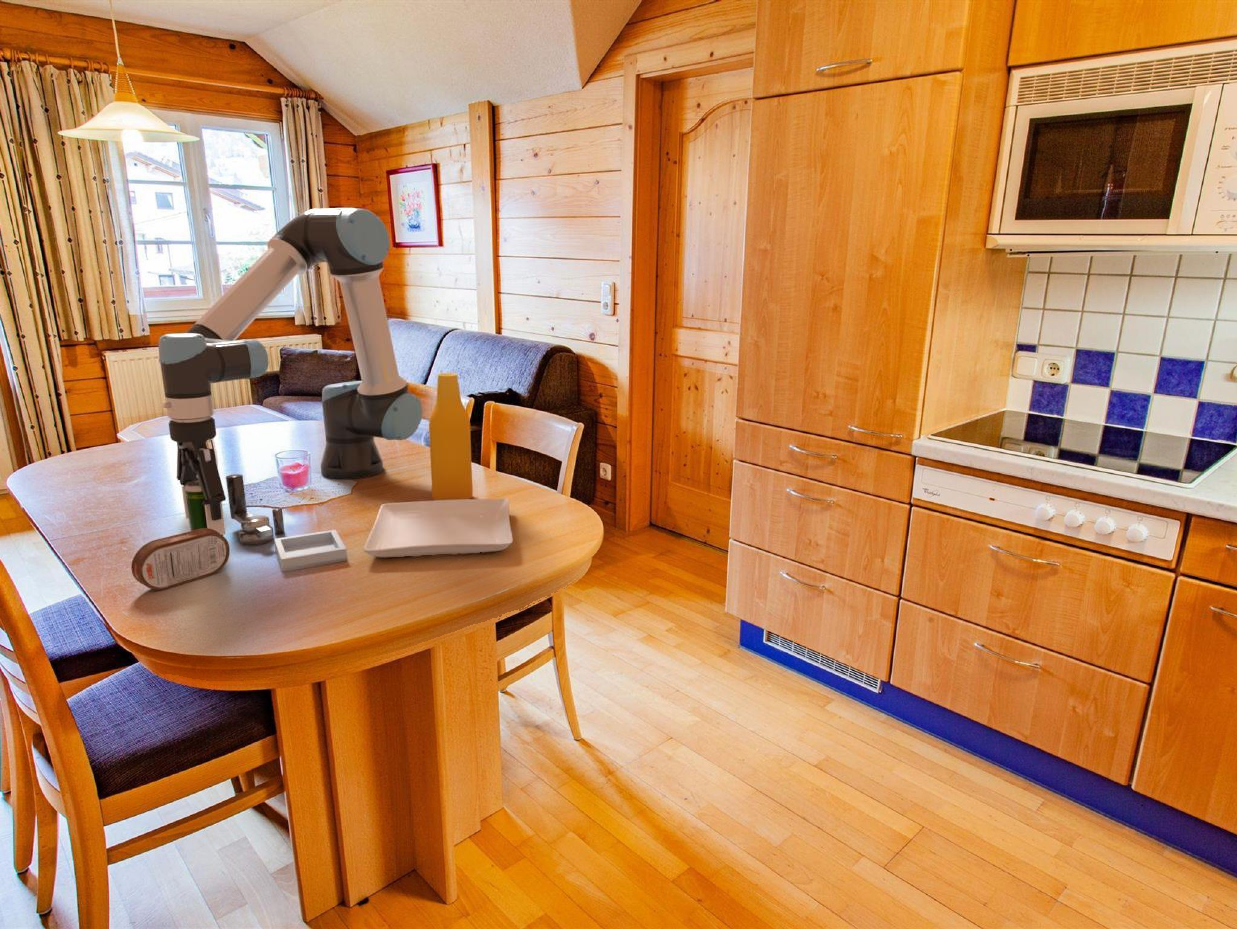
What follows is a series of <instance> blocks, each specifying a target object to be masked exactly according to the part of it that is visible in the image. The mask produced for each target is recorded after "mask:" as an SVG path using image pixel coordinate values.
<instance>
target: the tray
mask: <svg viewBox="0 0 1237 929" xmlns="http://www.w3.org/2000/svg"><path fill="white" fill-rule="evenodd" d="M273 540H274V542H273V543H274V548H275V549H274V550H275V553H276V556H277V557H276V558H277V560H278V562H279V565H280V568H281V571H282V572H283V573H285V572H289V571H296V570H300V569H306V568H308V569H309V568H312V567H313V568H314V567H319V566H325V565H330V564H336V563H340V562H341V563H342V562H347V561H348V555H347V554H348V553H347V548H346V545H345V544H344V542H343V540H342V539H341V537H340V535H339V533H338V532H337V530H336V529H331V530H330V529H329V530H322V531H317V532H311V533H305V534H297V535H291V536H285V537H278V538H274V539H273Z"/></svg>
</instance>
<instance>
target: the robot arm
mask: <svg viewBox="0 0 1237 929" xmlns="http://www.w3.org/2000/svg"><path fill="white" fill-rule="evenodd" d="M388 232H389V231H388V230H387V227H386V226H385V224H384V222H383V221H382V219H381V218H380V217H379V216H378V215H376V213H374V212H372V211H371V210H368V209H365V208H356V207H335V208H333V207H332V208H322V207H320V208H319V207H318V208H311V209H309V210H308V209H307V210H306V211H304V212H302V213H300V214H298V215H297V216H295V217H294V218H293V219H291V220H290V221H289V222H288V223H286V224H285V225H284V226H283V227H281V229H279V230H278V231H277V232H276V233H275V234H274V235H273V236H272V237H270V239H269V240H268V241H267V245H266V246H267V250H266V251H264V252H263V253H262V255H261V256H260V257H259V258H258V259H257V260H256V261H255V262H254V263H253V264H252V265H251V266H250V267H249V268H248V269H247V270H246V271H245V272H244V273H243V274H242V275H241V276H240V277H239V278H238V279H237V281H235V283H233V285H231V286H230V287H229V288H228V290H227V291H226V292H224V293H223V295H222V296H221V297H220V298H219V299H218V300H216V301H215V303H214V304H213V305H212V306H211V307H210V308H209V309H208V310H207V311H206V312H205V313H204V314H203V315H202V316H201V317H200V318H199V319H198V320H197V321H196V322H195V323H194V324H193V325H192V326H191V327H190V328H189V329H188V330H187V331H186V332H185V333H184V332H182V333H168V334H166V333H165V334H164V335H162V336H160V337H159V339H158V355H159V356H158V357H159V358H158V361H159V362H158V363H159V364H160V370H161V371H160V372H161V376H162V384H163V391H164V397H165V400H166V402H164V403H162V407H163V408H164V409H166V412H167V417H168V418H169V422H168V427H169V428H168V430H169V436H170V437H169V438H170V440H171V441H173V442H175V443H176V447H177V456H176V457H177V459H176V479H177V481H179V484H180V486H181V491H182V499H183V506H184V514H185V519H187V520H189V514H188V507H187V500H186V493H185V488H186V483H187V482H190V481H193V480H198V479H199V482H200V485H201V488H202V491H203V493H204V496H205V499H206V500H204V501H203V503H202V504H203V505H205V512H206V520H207V528H209V529H213V530H215V531H217V532H218V533H220V534H221V535H223V536H224V535H226V527H225V519H224V511H223V503H222V502H225V501H226V498H227V497H226V495H225V490H224V487H223V483H222V479H221V476H220V472H219V467H218V468H217V464H216V460H215V454H214V453H215V452H214V450H213V448H212V449H209V448H207V444H206V441H207V440H209V439H213V438H214V439H215V437H217V429H216V428H217V426H216V419H215V418H214V417H213V415H214V414H215V409H214V402H213V394H212V384H216V383H222V382H230V381H239V380H246V379H247V380H251V379H253V378H257V377H261V376H264V374H266V372H267V371H268V368H269V363H270V362H269V355H268V352H267V349H266V347H265V346H264V344H262V342H260V341H258V340H255V339H244V338H242V339H238V338H239V336H240V335H241V334H243V332H244V331H245V330H247V328H248V327H249V326H250V325H251V324H252V323H253V322H254V321H255V320H256V319H257V317H258V316H259V315H260V314H261V313H262V312H263V311H264V310H265V309H266V308H267V306H269V305H270V304H271V303H272V301H273V300H274V299H275V298H276V297H277V296H278V295H279V294H280V293H281V292H282V291H283V290H284V289H285V288H286V287H287V286H288V284H289V283H290V282H291V281H293V279H294V278H295V277H296V276H299V275H300V276H301V275H304V274H306V273H307V271H308V270H310V269H311V268H312V267H313V266H316V265H317V264H321V263H327V265H328V269H329V274H330V276H332V278H334V279H336V281H338V282H339V285H340V290H341V294H342V299H343V302H344V303H343V304H344V308H345V312H346V317H347V320H348V325H349V330H350V335H351V340H352V342H353V348H354V352H355V356H356V360H357V365H358V369H359V374H360V377H361V380H354V381H345V382H339V383H332V384H328V385H326V386H324V387H323V388H322V391H321V397H322V399H321V407H322V415H323V424H324V434H325V447H324V450H323V454H322V459H321V462H320V470H321V471H320V472H321V475H322V476H324V477H327V478H330V479H339V480H343V479H345V480H349V479H350V480H351V479H359V478H360V479H361V478H366V477H367V478H368V477H371V476H374V475H377V474H379V473H381V472H383V470H384V462H383V458H382V456H381V454H380V451H379V449H378V447H377V444H376V442H375V438H380V439H385V440H388V441H404V440H407V439H410V437H412V436H413V435H414V434H415V433H416V432H417V430H418V429H419V426H420V424H421V422H422V418H423V405H422V402H421V400H420V399H419V397H417V395H415V394H413V393H411V392H410V390H409V387H408V382H407V380H406V379H405V378H403V377H402V376H400V375H399V370H398V365H397V360H396V355H395V350H394V345H393V341H392V335H391V332H390V326H389V321H388V317H387V311H386V307H385V302H384V297H383V296H384V295H383V291H382V287H381V282H380V275H381V273H382V272H383V270H384V269H385V268H384V267H385V266H384V263H383V262H384V260H386V258H388V257H387V256H388V255H389V252H388V251H389V250H390V246H391V243H390V236H389V233H388ZM197 476H198V477H197ZM213 495H216V496H213Z"/></svg>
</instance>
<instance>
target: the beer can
mask: <svg viewBox="0 0 1237 929" xmlns="http://www.w3.org/2000/svg"><path fill="white" fill-rule="evenodd" d="M185 493H186V500H187V507H188V514H189V519H188V520H189V521H188V522H189V528H190V531H193V530H197V529H202V528H207V520H206V512H205V505H203V504H202V503H203V501H204V500H206V499H205V496H204V493H203V491H202V488H201V485H200V482H199V479H198V480H193V481H190V482H187V483H186V488H185ZM213 496H216V495H213ZM222 536H223V537H224V534H223V535H222Z"/></svg>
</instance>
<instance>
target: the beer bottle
mask: <svg viewBox="0 0 1237 929" xmlns="http://www.w3.org/2000/svg"><path fill="white" fill-rule="evenodd" d="M436 384H437V385H436V398H435V404H434V406H433V408H432V411H431V414H430V417H429V420H428V434H429V435H428V436H429V451H430V452H429V454H430V456H429V457H430V473H431V496H432V500H433V501H436V500H463V499H470V498H471V497H472V498H473V492H474V491H473V469H472V443H471V442H472V441H471V439H472V438H471V421H470V416H469V414H468V412H467V411H466V408H465V406H464V404H463V402H462V397H461V391H460V386H459V384H460V383H459V379H458V374H457V373H451V372H448V373H446V372H445V373H439V374H437V383H436ZM472 498H471V499H472Z"/></svg>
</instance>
